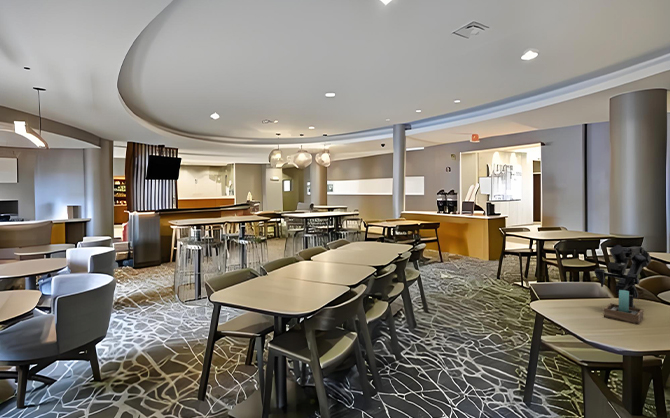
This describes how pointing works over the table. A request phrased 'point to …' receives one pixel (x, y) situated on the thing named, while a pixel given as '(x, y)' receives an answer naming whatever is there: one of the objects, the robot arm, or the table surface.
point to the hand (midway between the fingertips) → (611, 288)
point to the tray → (623, 314)
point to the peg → (624, 301)
